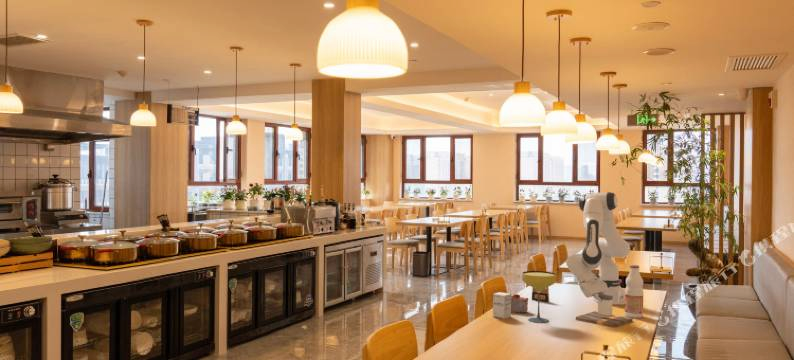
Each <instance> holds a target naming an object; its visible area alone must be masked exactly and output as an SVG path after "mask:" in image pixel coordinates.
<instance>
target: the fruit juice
mask: <svg viewBox="0 0 794 360" xmlns="http://www.w3.org/2000/svg"><path fill="white" fill-rule="evenodd" d="M629 269H630V270H629V273H628V275H627V276H626V278H625V285H626V286H625V290H624V291H625V304H624V317H627V318H634V319H638V318H639V319H641V318H643V316H644V288H643V285H644V279H643V278H642V275H641V273H640V265H637V264H630V266H629Z"/></svg>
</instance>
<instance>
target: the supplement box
mask: <svg viewBox="0 0 794 360" xmlns="http://www.w3.org/2000/svg"><path fill="white" fill-rule="evenodd" d="M492 296H493V297H492V298H493V300H492V317H495V318H498V319H503V320H504V319H507V318H508V319H509V318H511V316H512V312H511V296H512V293H508V292H501V291H498V292H496V293H495V292H494V293H493V295H492Z"/></svg>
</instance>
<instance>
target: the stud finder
mask: <svg viewBox="0 0 794 360" xmlns="http://www.w3.org/2000/svg"><path fill="white" fill-rule="evenodd" d="M598 296H599V297H600V298H602V300H603V301H602V302H599V301H598V302H597V303H598V304H597V312H598V314H602V315H607V316H609V315H613V305H612V301H613V296H610V295H604V294H601V295H598Z"/></svg>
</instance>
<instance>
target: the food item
mask: <svg viewBox="0 0 794 360" xmlns="http://www.w3.org/2000/svg"><path fill="white" fill-rule="evenodd" d="M528 303H529V297H524V296H523V297H522V296H521V294H517V293H515V294H513V295H511V313H513V312H514V313H518V312H519V313H520V314H524V313H526V312H528V308H529V307H528ZM519 313H518V314H519Z"/></svg>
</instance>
